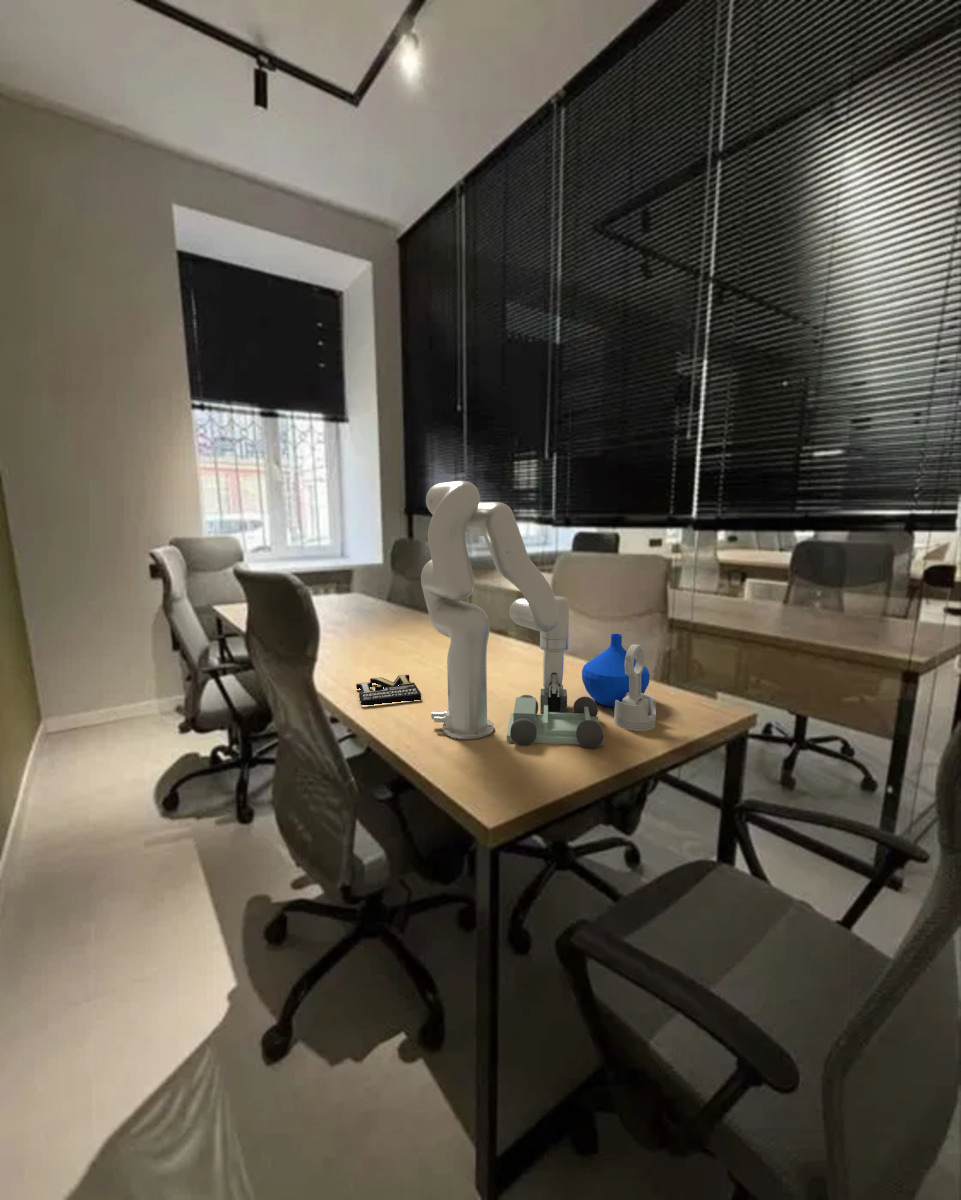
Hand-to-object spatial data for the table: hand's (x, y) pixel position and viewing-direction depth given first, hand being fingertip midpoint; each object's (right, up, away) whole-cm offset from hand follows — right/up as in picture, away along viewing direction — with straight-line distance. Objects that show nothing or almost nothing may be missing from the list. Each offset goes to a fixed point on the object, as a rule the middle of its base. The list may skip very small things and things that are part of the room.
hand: (553, 704), depth 149 cm
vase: (+18, 0, +6) cm, 19 cm away
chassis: (-2, -4, -14) cm, 15 cm away
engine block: (0, -2, 0) cm, 2 cm away
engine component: (+19, -3, -10) cm, 22 cm away
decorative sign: (-48, 0, +15) cm, 50 cm away
